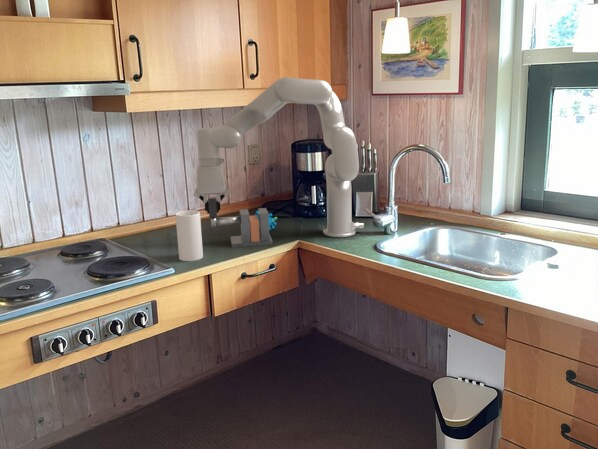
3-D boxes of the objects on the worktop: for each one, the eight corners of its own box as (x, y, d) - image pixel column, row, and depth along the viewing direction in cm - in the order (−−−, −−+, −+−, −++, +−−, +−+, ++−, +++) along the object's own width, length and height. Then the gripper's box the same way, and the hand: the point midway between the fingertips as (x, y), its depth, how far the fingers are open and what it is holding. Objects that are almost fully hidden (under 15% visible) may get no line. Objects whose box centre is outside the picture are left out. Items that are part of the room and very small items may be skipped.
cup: (174, 258, 192) (170, 213, 188) (193, 252, 198) (190, 209, 194) (188, 262, 187) (184, 217, 183) (207, 256, 193) (204, 212, 189)
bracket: (269, 237, 214) (268, 207, 211) (272, 244, 205) (271, 213, 202) (230, 240, 212) (228, 209, 209) (231, 247, 202) (230, 216, 199)
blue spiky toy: (260, 229, 220) (251, 209, 224) (254, 237, 224) (245, 217, 228) (282, 228, 227) (273, 208, 231) (275, 236, 231) (267, 216, 235)
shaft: (243, 223, 208) (241, 195, 205) (244, 226, 204) (242, 197, 201) (210, 225, 206) (208, 197, 203) (210, 228, 202) (208, 199, 200)
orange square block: (257, 235, 212) (256, 215, 210) (259, 241, 205) (258, 220, 202) (249, 235, 212) (248, 215, 210) (251, 241, 204) (250, 220, 202)
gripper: (231, 160, 203) (234, 208, 208) (186, 162, 201) (190, 211, 205) (232, 163, 196) (235, 213, 201) (186, 165, 194) (190, 216, 198)
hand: (212, 212), depth 203 cm, fingers closed on shaft, 3 cm apart
